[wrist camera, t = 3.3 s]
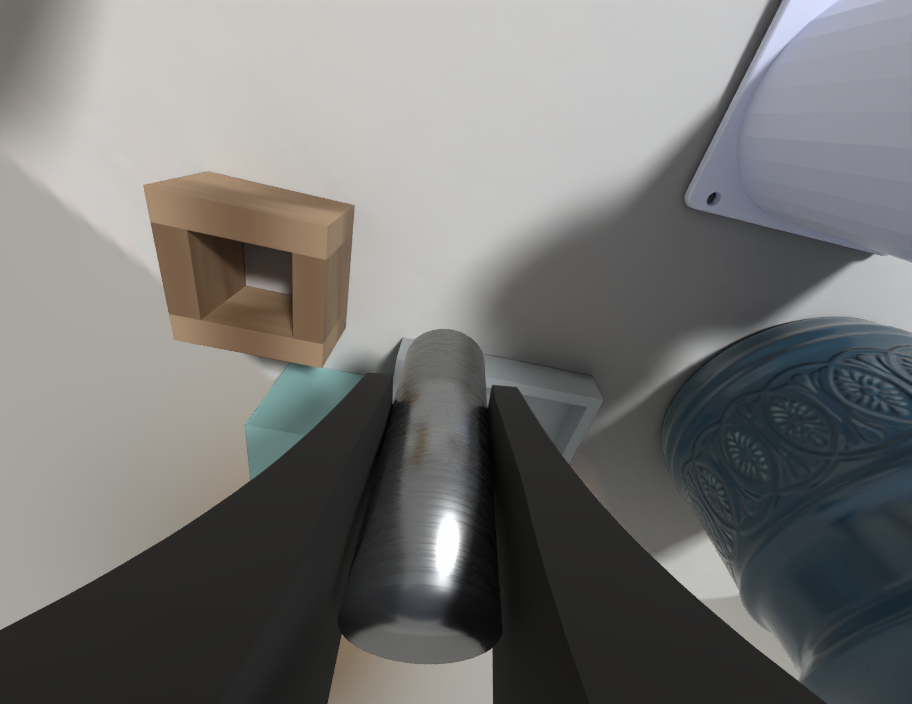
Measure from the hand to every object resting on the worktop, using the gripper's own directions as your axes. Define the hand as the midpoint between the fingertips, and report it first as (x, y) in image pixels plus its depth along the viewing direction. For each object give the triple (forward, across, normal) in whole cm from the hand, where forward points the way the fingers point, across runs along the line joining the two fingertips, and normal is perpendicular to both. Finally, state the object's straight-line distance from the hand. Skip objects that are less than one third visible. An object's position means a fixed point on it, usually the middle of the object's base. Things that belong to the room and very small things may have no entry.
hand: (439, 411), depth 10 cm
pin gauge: (+2, 0, 0) cm, 2 cm away
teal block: (+10, +6, +8) cm, 14 cm away
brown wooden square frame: (+10, +8, 0) cm, 12 cm away
